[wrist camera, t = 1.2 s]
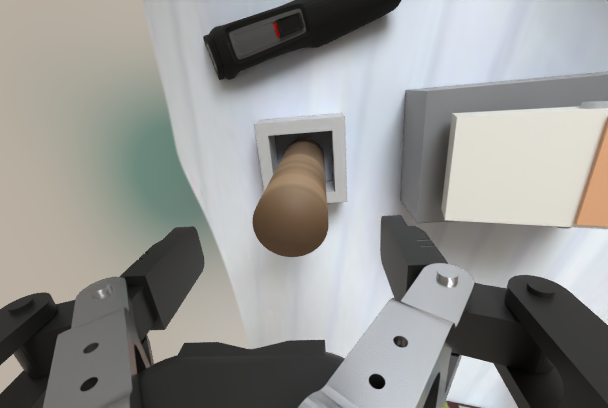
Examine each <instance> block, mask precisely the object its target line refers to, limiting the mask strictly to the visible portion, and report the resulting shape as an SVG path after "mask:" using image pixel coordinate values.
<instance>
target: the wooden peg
mask: <svg viewBox="0 0 608 408" xmlns="http://www.w3.org/2000/svg"><path fill="white" fill-rule="evenodd" d="M253 228H254V232H255V234H256V236H257V238H258V240H259V241H260V242H261V244H262V245H263V246H264V247H266V248H267V249H268V250H270V251H271V252H273V253H275V254H278V255H281V256H287V257H298V256H303V255H306V254H308V253H310V252H312V251H314V250H315V249H317V248H318V247H319V246H320V245H321V244H322V242H323V241H324V239H325V237H326V235H327V231H328V212H327V196H326V181H325V166H324V153H323V149H322V147H321V145H320V144H319V143H318V142H317V141H316V140H314V139H312V138H309V137H300V138H297V139H295V140H293V141H292V142H291V143H290V144H289V145H288V147H287V149H286V151H285V153H284V155H283V157H282V159H281V161H280V163H279V165H278V166H277V168H276V170H275V172H274V174H273V176H272V178H271V180H270V182H269V184H268V186H267V188H266V190H265V192H264V193H263V195H262V197H261V199H260V201H259V203H258V205H257V207H256V209H255V211H254V215H253Z"/></svg>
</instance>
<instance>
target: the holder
mask: <svg viewBox="0 0 608 408" xmlns="http://www.w3.org/2000/svg"><path fill="white" fill-rule="evenodd" d="M254 128H255V134H256V141H257V147H258V154H259V161H260V167H261V174H262V181H263V187H264V192H265V190H266V188H267V186H268V184H269V182H270V180H271V178H272V176H273V174H274V172H275V170H276V168H277V166H278V161H277V154H276V146H275V138H274V135H284V134H296V133H309V132H321V131H331V135H332V156H333V177H334V181H327V182H326V196H327V203H336V202H347V174H346V140H345V116H344V115H343V114H342V113H336V114H324V115H312V116H301V117H289V118H277V119H266V120H260V121H258V122H257V123H255V124H254Z"/></svg>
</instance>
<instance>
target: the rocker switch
mask: <svg viewBox="0 0 608 408" xmlns="http://www.w3.org/2000/svg"><path fill="white" fill-rule="evenodd" d="M441 209H442V213H443V216H444V219H445V220H450V221H468V222H486V223H504V224H523V225H541V226H555V227H558V228H571V227H577V228H596V229H608V101H585V102H581V105H580V106H577V107H558V108H540V109H521V110H502V111H484V112H465V113H452V118H451V127H450V136H449V145H448V154H447V163H446V172H445V181H444V189H443V198H442V207H441Z"/></svg>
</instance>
